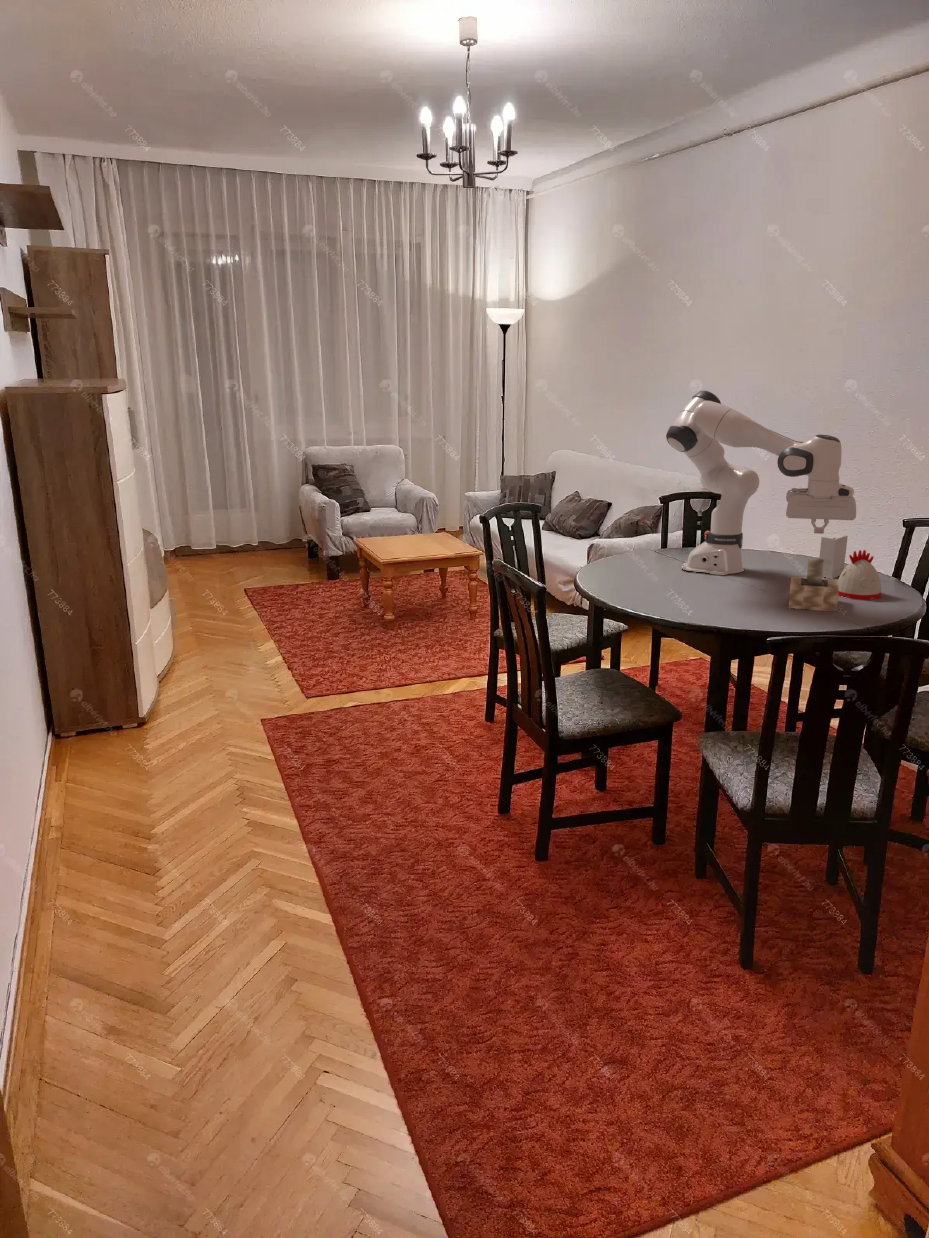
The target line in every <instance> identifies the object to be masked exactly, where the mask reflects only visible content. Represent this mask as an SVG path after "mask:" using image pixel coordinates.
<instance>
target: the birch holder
mask: <svg viewBox="0 0 929 1238" xmlns="http://www.w3.org/2000/svg"><path fill="white" fill-rule="evenodd" d="M838 579H839V578H838ZM838 579H837V578H833V579H829V578H824V577H822V584H807V583H806V582H807V576H806V577H805V576H791V578H790V586H789V597H788V599H789V600H788V606H787V607H788V609H791V608H795V610H805V609H809V610H808V611H821V612H822V611H823V612H833V611H835V612H834V613H836V612H837V610H838V603H839V602H838V600H839V599H838V598H839V596H838V592H839V588H838Z"/></svg>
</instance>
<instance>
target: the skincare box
mask: <svg viewBox="0 0 929 1238" xmlns="http://www.w3.org/2000/svg"><path fill="white" fill-rule="evenodd" d="M847 544H848V535H846V534H842V533H841V534H839V533H835V532H832V533H829V534H827V535H823V536H821V538H820V548H819V557H818V558H819V559H823V560H824V562H823V574H822V578H824V577H826V578H825V579H829V578H833V579H837V578H839V577H840V575H841V573H842V571H843V570H844V569H845V563H846V554H847V546H848V545H847ZM838 576H839V577H838Z"/></svg>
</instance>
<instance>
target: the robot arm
mask: <svg viewBox="0 0 929 1238" xmlns="http://www.w3.org/2000/svg"><path fill="white" fill-rule="evenodd" d="M665 439H666V441H667V443H668V444H669V446H671V448H673V449H675V450H676V451H678V452H680V453H684V454H685V455H686V456H687V458H688V459H689V460H690V461H691V463H693V465H694V466H695V467H696V468H697V470H698V471H699V474H700V478H699V479H700V483H701V485H702V487H703V488H705V489H706V490H707V491H710V492H711V493H714V494H719V495H721V496H720V501H719V503H718V505H717V506H716V507H715V508H714V509H713V510H712V511H711V519H710V530H706V531H705V532H704V541H703V542H702V543H701V544H699V545H698V546H696V547H695V548H693V549H692V550H691V551H690V552H689V555H688V558H687V561H686V562H684V563H682V565H684V566H682V565H681V567H682V568H683V567H684V568H686V569H687V570H691V571H696V572H706V573H710V574H709V575H717V576H726V575H732V574H738V573H742V572H744V565H743V558H742V548H743V540H744V537H743V536H744V534H743V531H742V530H743V519H744V512H745V509H746V507H747V503H748V501H749V499H751V498H752V496H753V495H754V494H755V493H756V492H757V491H758V489H759V486H760V477H759V475H758V473H757V472H756V471H755V470H753V469H750V468H749V467H747V466H741V465H736V464H735V465H734V464H731V463H730V462H728V461H727V460H726V459H725V457H724V456H725V448H724V447H723V445H725V446H729V447H732V448H757V449H762V450H764V451H767V452H768V453H771V454H773V455H775V456H776V457H777V456H778V457H777V463H776V464H777V468H778V470H779V471H780V473H781V474H783V475H784V476H786V477H790V478H797V477H801V476H807V477H808V480H807V487H806V488H795V487H793V488H791V489H789V490H788V491H787V492H786V496H785V500H786V502H787V506H786V512H785V516H786V518H788V519H800V520H801V519H802V520H803V519H805V520H806V519H807V520H810V523H811V525H812V527H813V534H821V535H822V534H823V535H824V534H825V529H826V527H827V526H828V525H829V522H830V520H833V521H855V519H856V518H857V502H856V498H855V497H854V494H855V489H854V488H853V487H852V486H849V485H846V484H842V483H840V473H839V472H840V468H841V465H842V442H841V440H840V439H839V438H838V437H836V436H833V435H828V434H827V435H826V434H815V435H814V436H813V437H812V438H810V439H808V440H806V441H797V440H794V439H792V438H790V437H787V436H784V435H782V434H780V433H778V432H776V431H774V430H771V429H769V428H767V427H765V426H763V425H761V423H758V422H756V421H755V420H753V419H752V418H750V417H748V416H747V415H745V414H744V413H742V412H740V411H738V410H736V409H733V408H731V407H730V406H727V405H725V404H723V403H721V400H720V399H719V397H718V396H717V395H716V394H714V393H713V392H712V391H708V390H700V391H698V392H697V393H695V394H694V395H693V396H692V398H691V400H690V401H688V402H687V403H686V404H685V406H684V407H683V408H682V409H681V411H680V412H679V414H678V415H677V416H676V418H675V419H674V421H673V423H672V425H670V426H669V427H668V429H667V432H666V435H665ZM722 444H723V445H722ZM817 520H823V523H824V524H823V525H822V527H821V526H817V525H816V522H817ZM696 572H695V573H696Z"/></svg>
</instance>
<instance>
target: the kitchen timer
mask: <svg viewBox="0 0 929 1238" xmlns="http://www.w3.org/2000/svg"><path fill="white" fill-rule="evenodd" d="M849 559H850V562H849V564H847V565H846V566H845V567H844V570H843V571H842V573H841V575H840V576H839V577H838V588H839V592H838V597H841V596H843V597H842V598H844V597H846V599H849V598H850V599H851V600H858V599H862V600H863V601H864V600H865V599H866V600H865V601H870V599H871V600H877V599H880V598H881V596H882V583H881V579H880V575H879V573H878V571H877V569H876V568H875V566H874V565H873V564H872V561H873V559H874V556H873V555H872V556H871V553H870V552H867V550H866V549H863V551H862V550H860V549H859V550H858V553H857V551H856V550H854V551H853V555H851V554H849ZM850 599H849V600H850Z"/></svg>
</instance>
